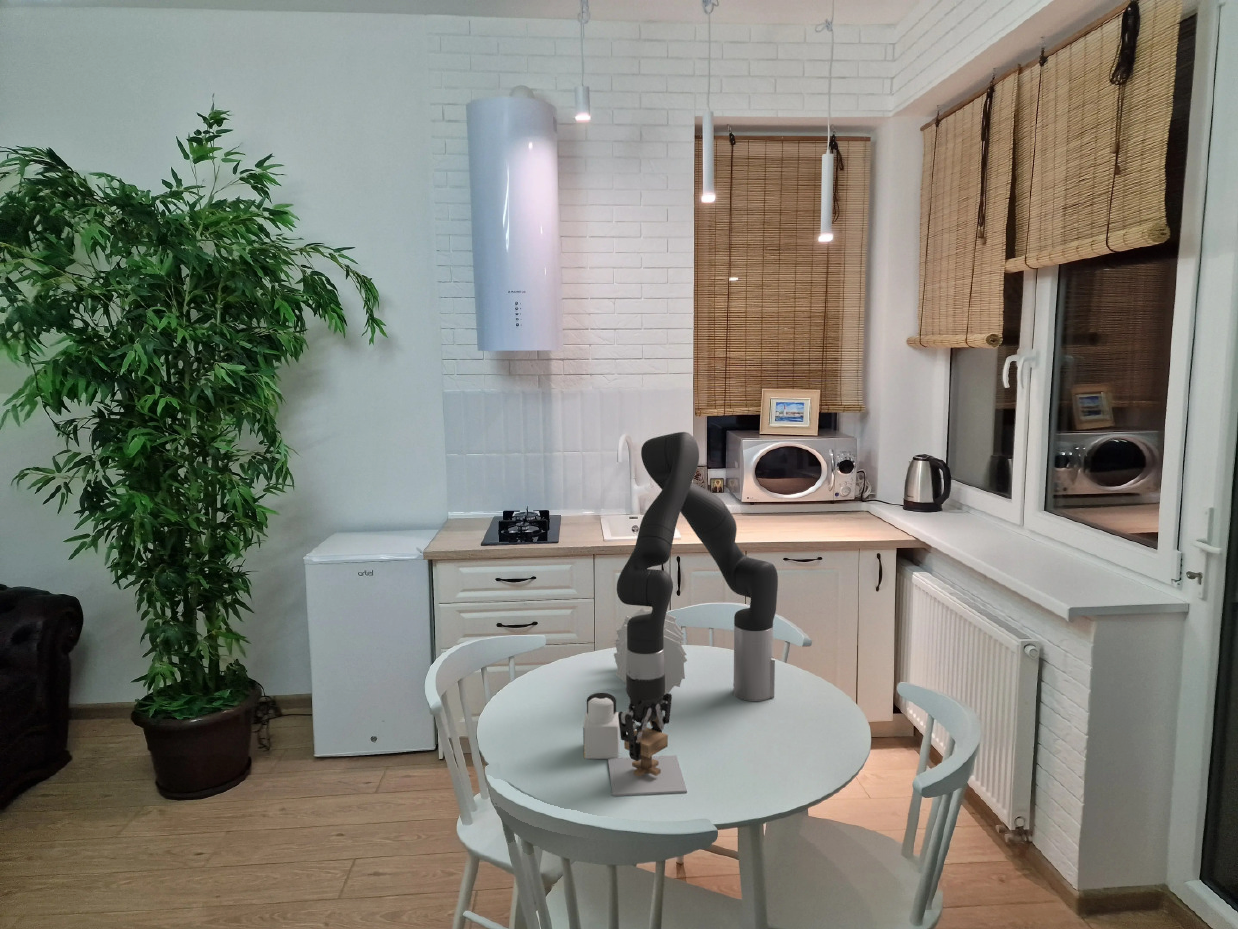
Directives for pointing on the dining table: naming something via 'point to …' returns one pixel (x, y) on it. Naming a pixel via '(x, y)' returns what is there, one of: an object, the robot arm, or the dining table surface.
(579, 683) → the dining table surface
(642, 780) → the mat
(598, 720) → the blocky figurine
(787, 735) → the dining table surface
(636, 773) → the wooden pedestal stool
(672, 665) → the spiral staircase
